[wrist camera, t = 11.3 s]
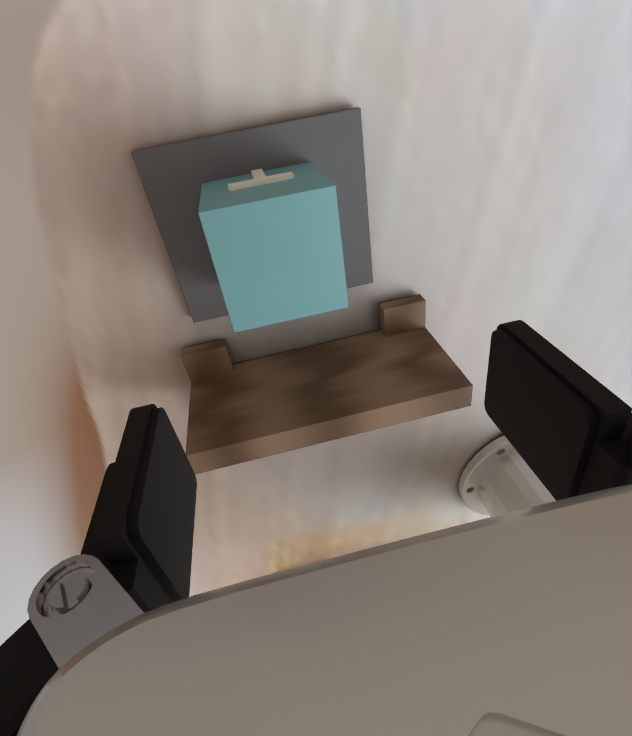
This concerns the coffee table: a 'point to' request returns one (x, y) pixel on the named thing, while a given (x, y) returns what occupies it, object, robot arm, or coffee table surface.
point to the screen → (318, 390)
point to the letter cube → (275, 244)
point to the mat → (238, 157)
